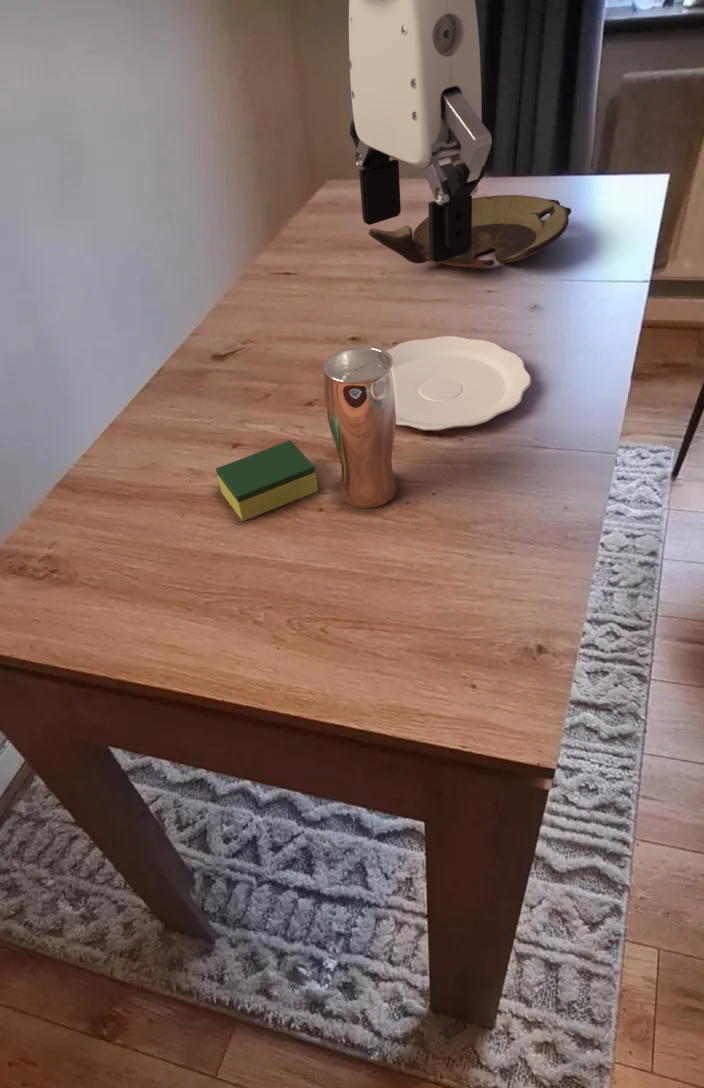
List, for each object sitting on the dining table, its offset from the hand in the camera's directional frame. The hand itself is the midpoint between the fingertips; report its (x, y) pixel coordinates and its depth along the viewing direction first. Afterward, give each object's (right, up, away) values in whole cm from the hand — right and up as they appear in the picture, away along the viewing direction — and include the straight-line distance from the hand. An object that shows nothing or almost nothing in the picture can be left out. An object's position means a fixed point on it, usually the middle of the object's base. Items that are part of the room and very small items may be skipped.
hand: (414, 236), depth 60 cm
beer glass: (-2, -16, +25) cm, 30 cm away
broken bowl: (+16, +26, +63) cm, 70 cm away
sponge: (-13, -16, +26) cm, 33 cm away
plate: (+8, -2, +37) cm, 38 cm away
